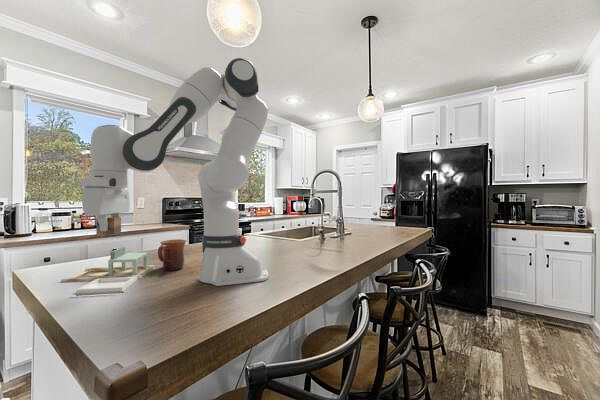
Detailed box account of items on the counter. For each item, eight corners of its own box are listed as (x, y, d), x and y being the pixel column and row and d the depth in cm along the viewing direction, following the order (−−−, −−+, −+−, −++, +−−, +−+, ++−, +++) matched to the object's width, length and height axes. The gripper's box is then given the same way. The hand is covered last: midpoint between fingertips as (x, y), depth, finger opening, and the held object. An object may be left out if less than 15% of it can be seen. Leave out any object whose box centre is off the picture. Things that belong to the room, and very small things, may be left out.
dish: (137, 281, 87) (137, 276, 87) (122, 293, 76) (122, 287, 76) (97, 283, 85) (97, 278, 85) (76, 295, 74) (76, 289, 74)
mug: (170, 265, 108) (170, 239, 108) (191, 266, 106) (191, 239, 106) (148, 273, 96) (148, 243, 96) (170, 274, 95) (170, 244, 95)
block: (121, 232, 83) (121, 217, 83) (114, 234, 79) (114, 218, 79) (104, 232, 82) (104, 217, 82) (96, 234, 78) (96, 218, 78)
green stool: (147, 268, 100) (147, 246, 100) (135, 276, 90) (136, 251, 90) (123, 269, 99) (123, 246, 99) (108, 278, 88) (108, 252, 88)
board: (154, 269, 102) (154, 265, 102) (140, 280, 88) (140, 275, 88) (86, 272, 98) (86, 268, 98) (61, 283, 84) (61, 279, 84)
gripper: (113, 183, 90) (113, 226, 90) (76, 179, 70) (76, 234, 70) (135, 183, 91) (135, 225, 91) (104, 179, 71) (104, 233, 71)
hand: (109, 229), depth 80 cm, fingers closed on block, 4 cm apart
